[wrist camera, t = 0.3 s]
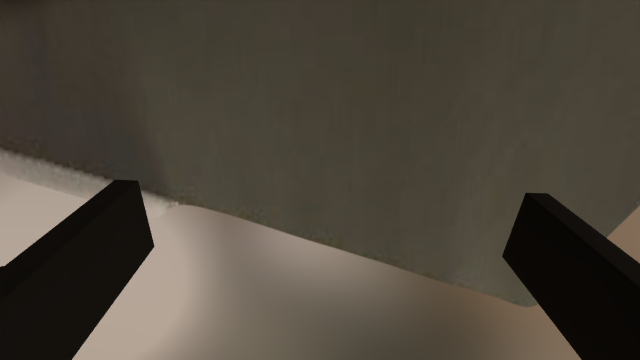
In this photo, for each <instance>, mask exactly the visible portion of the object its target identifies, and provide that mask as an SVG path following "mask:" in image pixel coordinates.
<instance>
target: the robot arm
mask: <svg viewBox="0 0 640 360" xmlns="http://www.w3.org/2000/svg"><path fill="white" fill-rule="evenodd" d="M153 248H154V243H153V239H152V235H151V231H150V227H149V223H148V219H147V215H146V211H145V206H144V202H143V198H142V194H141V190H140V186H139V182H138V181H133V180H114V181H113V182H112V183H110V184H109V185H108V186H107V187H105V188H104V189H103V190H101V191H100V192H99V193H98V194H96V195H95V196H94V197H92V198H91V199H90V200H89V201H88V202H86V203H85V204H84V205H82V206H81V207H80V208H78V209H77V210H76V211H75V212H73V213H72V214H71V215H70V216H68V217H67V218H66V219H64V220H63V221H62V222H60V223H59V224H58V225H57V226H55V227H54V228H53V229H52V230H50V231H49V232H48V233H46V234H45V235H44V236H43V237H41V238H40V239H39V240H37V241H36V242H35V243H34V244H33V245H31V246H30V247H28V248H27V249H26V250H25V251H24V252H22V253H21V254H20V255H18V256H17V257H16V258H14V259H13V260H12V261H11V262H9V263H8V264H7V265H6V266H2V267H0V360H72V358H73V357H74V356H75V354H76V353H77V352H78V350H79V349H80V347H81V346H82V345H83V343H84V342H85V341H86V339H87V338H88V337H89V335H90V334H91V332H92V331H93V330H94V328H95V327H96V326H97V324H98V323H99V321H100V320H101V319H102V317H103V316H104V315H105V313H106V312H107V311H108V309H109V308H110V306H111V305H112V304H113V302H114V301H115V299H116V298H117V297H118V296H119V294H120V293H121V291H122V290H123V289H124V287H125V286H126V285H127V283H128V282H129V280H130V279H131V278H132V276H133V275H134V274H135V272H136V271H137V270H138V268H139V266H140V265H141V264H142V263H143V261H144V260H145V259H146V257H147V256H148V255H149V253H150V252H151V250H152V249H153ZM502 257H503V258H504V259H505V261H506V262H507V263H508V265H509V266H510V267H511V268H512V270H513V271H514V272H515V274H516V275H517V276H518V278H519V279H520V280H521V281H522V283H523V284H524V285H525V287H526V288H527V289H528V291H529V292H530V293H531V294H532V296H533V297H534V298H535V300H536V301H537V302H538V304H539V305H540V306H541V307H542V309H543V310H544V311H545V313H546V314H547V315H548V316H549V318H550V319H551V320H552V322H553V323H554V324H555V325H556V327H557V328H558V329H559V331H560V332H561V333H562V335H563V336H564V337H565V338H566V340H567V341H568V342H569V344H570V345H571V346H572V348H573V349H574V350H575V351H576V353H577V354H578V355H579V357H580V358H581V359H582V360H640V264H639V263H638V262H637V261H635V260H634V259H633V258H632V257H630V256H629V255H628V254H626V253H625V252H624V251H623V250H621V249H620V248H619V247H617V246H616V245H615V244H613V243H612V242H611V241H609V240H608V239H607V238H606V237H604V236H603V235H602V234H600V233H599V232H598V231H596V230H595V229H594V228H592V227H591V226H590V225H588V224H587V223H586V222H585V221H583V220H582V219H581V218H579V217H578V216H577V215H575V214H574V213H573V212H571V211H570V210H569V209H568V208H566V207H565V206H564V205H562V204H561V203H560V202H558V201H557V200H556V199H554V198H553V197H552V196H550V195H549V194H545V193H526V194H525V196H524V199H523V202H522V204H521V207H520V210H519V212H518V215H517V218H516V220H515V223H514V226H513V228H512V231H511V234H510V237H509V239H508V242H507V245H506V247H505V250H504V253H503V255H502Z"/></svg>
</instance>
